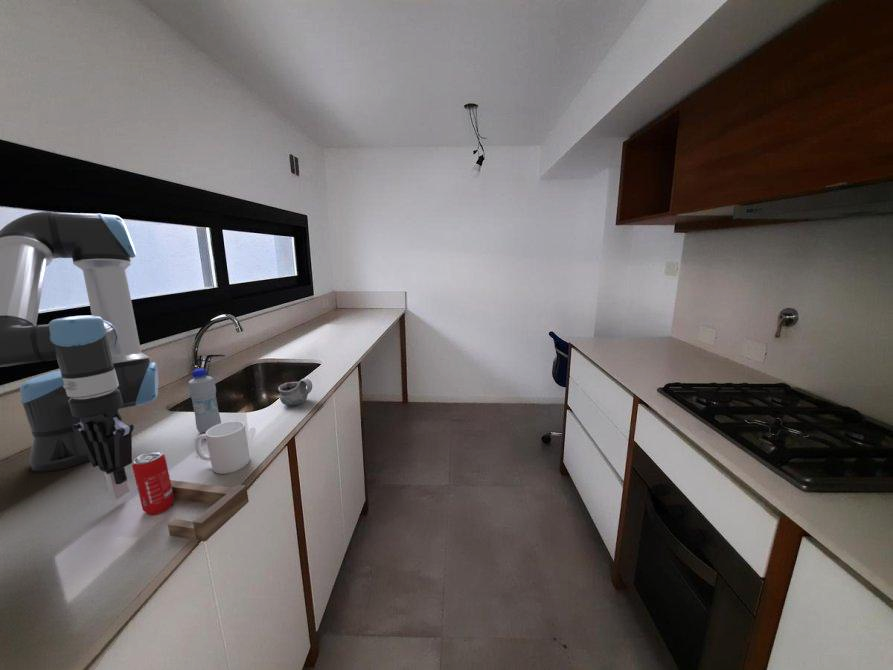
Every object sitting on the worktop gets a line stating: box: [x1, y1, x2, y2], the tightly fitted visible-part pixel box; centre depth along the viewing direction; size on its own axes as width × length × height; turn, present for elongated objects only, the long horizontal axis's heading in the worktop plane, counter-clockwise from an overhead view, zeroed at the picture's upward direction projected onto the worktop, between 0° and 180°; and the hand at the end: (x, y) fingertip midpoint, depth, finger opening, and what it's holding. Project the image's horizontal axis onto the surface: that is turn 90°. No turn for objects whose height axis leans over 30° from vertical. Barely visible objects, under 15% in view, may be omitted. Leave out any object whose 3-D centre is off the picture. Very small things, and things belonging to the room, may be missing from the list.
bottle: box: [188, 368, 222, 435], centre depth 106 cm, size 7×7×20 cm
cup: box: [194, 420, 251, 475], centre depth 89 cm, size 8×12×10 cm
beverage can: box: [131, 450, 175, 516], centre depth 73 cm, size 5×5×12 cm
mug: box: [277, 377, 313, 407], centre depth 126 cm, size 10×12×10 cm
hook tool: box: [166, 479, 249, 542], centre depth 72 cm, size 20×11×4 cm, turn 79°
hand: (120, 495), depth 76 cm, fingers closed
